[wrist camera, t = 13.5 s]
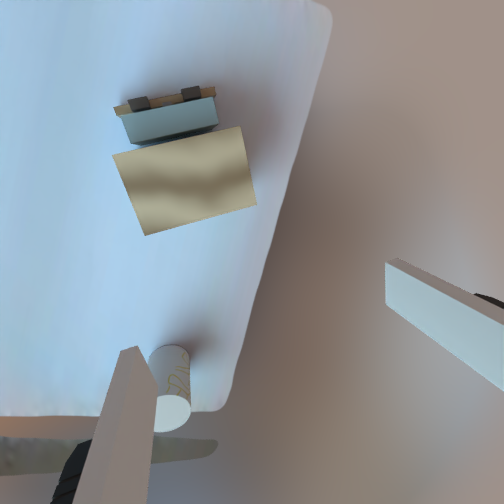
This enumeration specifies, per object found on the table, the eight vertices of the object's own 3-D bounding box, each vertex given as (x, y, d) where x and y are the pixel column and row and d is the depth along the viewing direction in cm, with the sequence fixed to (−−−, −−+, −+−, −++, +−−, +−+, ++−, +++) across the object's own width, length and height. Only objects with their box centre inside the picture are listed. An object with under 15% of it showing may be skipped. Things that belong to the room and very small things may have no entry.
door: (131, 116, 38) (116, 106, 30) (204, 100, 39) (210, 87, 31) (141, 145, 40) (130, 143, 31) (211, 129, 41) (219, 123, 33)
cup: (195, 367, 56) (197, 418, 45) (158, 382, 55) (151, 439, 44) (180, 339, 53) (179, 387, 42) (141, 354, 52) (129, 408, 41)
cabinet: (115, 109, 37) (85, 89, 25) (213, 89, 39) (226, 61, 28) (155, 213, 43) (144, 235, 32) (238, 191, 45) (257, 204, 34)
